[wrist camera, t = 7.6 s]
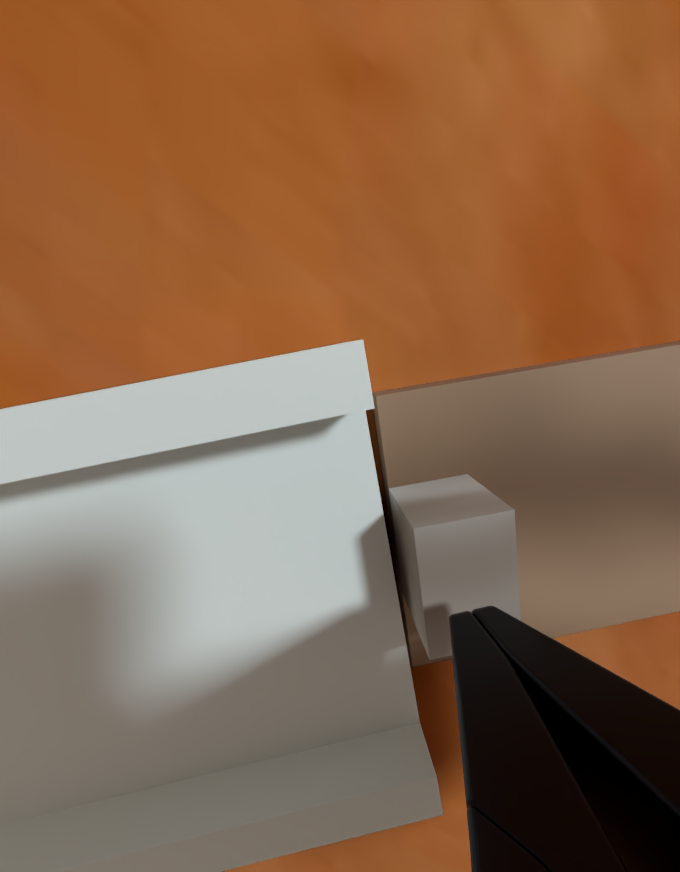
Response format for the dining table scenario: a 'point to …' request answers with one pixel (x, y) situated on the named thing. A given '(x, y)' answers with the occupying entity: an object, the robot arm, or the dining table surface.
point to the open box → (201, 624)
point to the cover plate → (535, 494)
